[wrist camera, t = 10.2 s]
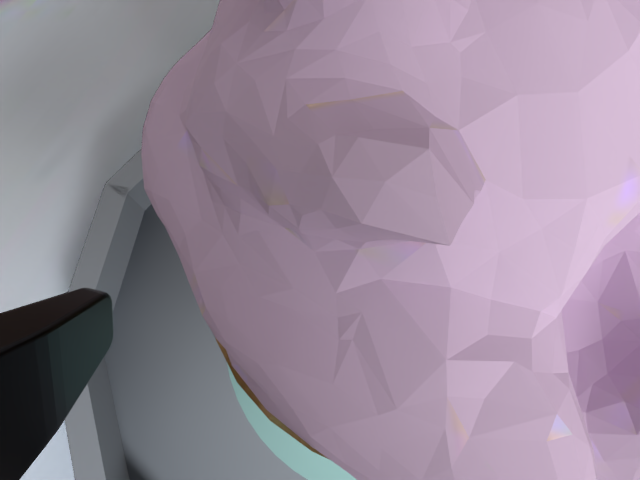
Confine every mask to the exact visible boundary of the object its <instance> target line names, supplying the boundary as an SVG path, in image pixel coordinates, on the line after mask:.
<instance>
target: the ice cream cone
mask: <svg viewBox="0 0 640 480" xmlns="http://www.w3.org/2000/svg"><path fill="white" fill-rule="evenodd" d="M141 157H142V169H143V181H144V189H145V191H146V194H147V196H148V198H149V200H150V202H151V204H152V206H153V208H154V210H155V212H156V214H157V216H158V217H159V218H160V220H161V221H162V223H163V224H164V226H165V228H166V230H167V232H168V234H169V236H170V238H171V240H172V243H173V245H174V247H175V249H176V251H177V253H178V255H179V258H180V260H181V263H182V266H183V268H184V271H185V273H186V276H187V279H188V281H189V284H190V286H191V289H192V291H193V294H194V296H195V299H196V301H197V304H198V306H199V309H200V311H201V314H202V316H203V318H204V319H205V321H206V323H207V324H208V326H209V327H210V329H211V331H212V332H213V334H214V336H215V338H216V341H217V343H218V345H219V347H220V349H221V351H222V353H223V355H224V357H225V359H226V361H227V363H228V365H229V367H230V369H231V371H232V373H233V375H234V377H235V379H236V381H237V383H238V384H239V385H240V387H241V388H242V389H243V390H244V391H245V392H246V394H247V395H248V396H249V397H250V398H251V399H252V400H253V402H254V403H255V404H256V405H257V406H258V407H259V409H260V410H261V411H262V412H263V413H264V414H265V416H266V417H267V418H268V419H269V420H270V421H271V422H273V423H274V424H275V425H277V426H278V427H279V428H281V429H282V430H283V431H285V432H286V433H288V434H289V435H290V436H292V437H293V438H294V439H296V440H297V441H298V442H300V443H301V444H303V445H304V446H305V447H307V448H308V449H309V450H311V451H312V452H314V453H317V454H319V455H321V456H323V457H325V458H327V459H329V460H331V461H333V462H334V463H335V464H337V465H338V466H340V467H341V468H342V469H344V470H345V471H347V472H348V473H349V474H350V475H352V476H353V477H354V478H355V479H357V480H640V0H220V2H219V5H218V9H217V12H216V16H215V19H214V23H213V26H212V29H211V30H210V31H209V32H208V33H207V34H206V35H205V36H204V37H203V38H202V39H201V40H200V41H199V42H198V43H197V44H196V45H195V46H193V47H192V48H191V49H190V50H189V51H188V52H187V53H186V54H185V55H184V56H183V57H182V58H181V59H180V60H179V61H178V62H177V63H176V64H175V65H174V66H173V67H172V69H171V70H170V71H169V72H168V74H167V75H166V76H165V78H164V79H163V81H162V82H161V84H160V86H159V88H158V90H157V91H156V93H155V95H154V97H153V98H152V100H151V102H150V106H149V109H148V112H147V116H146V119H145V123H144V126H143V134H142V150H141Z"/></svg>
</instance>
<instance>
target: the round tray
mask: <svg viewBox="0 0 640 480" xmlns="http://www.w3.org/2000/svg"><path fill="white" fill-rule="evenodd" d="M141 150H142V149H141ZM141 150H140V151H139V152H138V153H137V154H135V155H134V156H133V157H132V158H131V159H130V160H129V161H128V162H127V163H126V164H125V165H124V166H123V167H122V168H121V169H120V170H119V171H118V172H117V173H116V174H115V175H114V176H112V177H111V178H110V179H109V180H108V181H107V182H106V183H107V184H105V186H104V189H103V192H102V195H101V198H100V201H99V203H98V206H97V209H96V212H95V215H94V218H93V221H92V224H91V227H90V230H89V232H88V235H87V238H86V241H85V244H84V247H83V250H82V253H81V256H80V259H79V261H78V264H77V267H76V270H75V273H74V276H73V279H72V282H71V285H70V288H69V290H68V292H70V291H74V290H77V289H80V288H92V289H95V290H99V291H103V292H106V293H108V294H109V295H110V296H111V299H112V309H113V340H112V344H111V346H110V348H109V350H108V352H107V353H106V355H105V357H104V358H103V360H102V361H101V363H100V365H99V366H98V368H97V369H96V371H95V372H94V374H93V376H92V377H91V379H90V380H89V382H88V384H87V385H86V387H85V388H84V390H83V392H82V393H81V395H80V396H79V398H78V400H77V401H76V403H75V404H74V406H73V407H72V409H71V411H70V412H69V414H68V415H67V417H66V418H65V425H66V431H67V437H68V443H69V448H70V454H71V460H72V466H73V471H74V477H75V480H357V479H355V478H354V477H353V476H352V475H350V474H349V473H348V472H347V471H345V470H344V469H342V468H341V467H340V466H338V465H337V464H335V463H334V462H333V461H331V460H329V459H327V458H325V457H323V456H321V455H319V454H317V453H314V452H312V451H311V450H309V449H308V448H307V447H305V446H304V445H303V444H301V443H300V442H298V441H297V440H296V439H294V438H293V437H292V436H290V435H289V434H288V433H286V432H285V431H283V430H282V429H281V428H279V427H278V426H277V425H275V424H274V423H273V422H271V421H270V420H269V419H268V418H267V417H266V416H265V414H264V413H263V412H262V411H261V410H260V409H259V407H258V406H257V405H256V404H255V403H254V402H253V400H252V399H251V398H250V397H249V396H248V395H247V394H246V392H245V391H244V390H243V389H242V388H241V387H240V385H239V384H238V383H237V381H236V379H235V377H234V375H233V373H232V371H231V369H230V367H229V365H228V363H227V361H226V359H225V357H224V355H223V353H222V351H221V349H220V347H219V345H218V343H217V341H216V338H215V336H214V334H213V332H212V331H211V329H210V327H209V326H208V324H207V323H206V321H205V319H204V318H203V316H202V314H201V311H200V309H199V306H198V304H197V301H196V299H195V296H194V294H193V291H192V289H191V286H190V284H189V281H188V279H187V276H186V273H185V271H184V268H183V266H182V263H181V260H180V258H179V255H178V253H177V251H176V249H175V247H174V245H173V243H172V240H171V238H170V236H169V234H168V232H167V230H166V228H165V226H164V224H163V223H162V221H161V220H160V218H159V217H158V216H157V214H156V212H155V210H154V208H153V206H152V204H151V202H150V200H149V198H148V196H147V194H146V191H145V189H144V181H143V169H142V157H141Z"/></svg>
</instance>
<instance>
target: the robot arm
mask: <svg viewBox="0 0 640 480" xmlns="http://www.w3.org/2000/svg"><path fill="white" fill-rule="evenodd" d="M112 340H113V309H112V299H111V296H110V295H109V294H108V293H106V292H103V291H99V290H95V289H92V288H80V289H77V290H74V291H70V292H67V293H64V294H61V295H58V296H54V297H51V298H48V299H45V300H41V301H38V302H35V303H32V304H29V305H25V306H22V307H19V308H16V309H12V310H9V311H6V312H3V313H0V480H19V479H20V478H21V477H22V476H23V474H24V473H25V472H26V471H27V469H28V468H29V467H30V465H31V464H32V463H33V462H34V460H35V459H36V458H37V456H38V455H39V454H40V453H41V451H42V450H43V449H44V448H45V446H46V445H47V444H48V442H49V441H50V440H51V438H52V437H53V436H54V434H55V433H56V432H57V430H58V429H59V427H60V426H61V424H62V423H63V421H64V420H65V418H66V417H67V415H68V414H69V412H70V411H71V409H72V407H73V406H74V404H75V403H76V401H77V400H78V398H79V396H80V395H81V393H82V392H83V390H84V388H85V387H86V385H87V384H88V382H89V380H90V379H91V377H92V376H93V374H94V372H95V371H96V369H97V368H98V366H99V365H100V363H101V361H102V360H103V358H104V357H105V355H106V353H107V352H108V350H109V348H110V346H111V344H112Z"/></svg>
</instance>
